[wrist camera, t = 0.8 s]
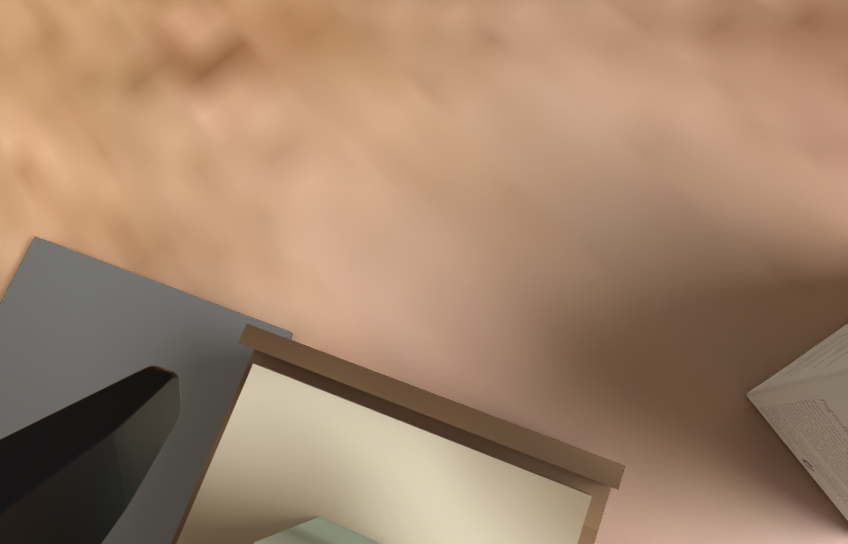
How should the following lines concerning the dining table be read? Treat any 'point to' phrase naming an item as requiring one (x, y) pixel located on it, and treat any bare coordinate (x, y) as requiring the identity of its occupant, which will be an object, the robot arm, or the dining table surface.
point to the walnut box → (429, 421)
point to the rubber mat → (120, 364)
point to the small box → (813, 412)
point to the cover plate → (363, 480)
